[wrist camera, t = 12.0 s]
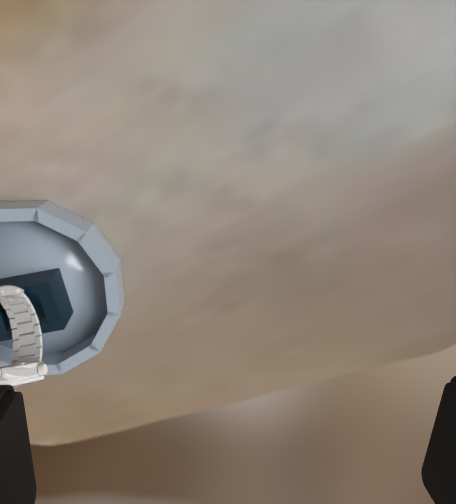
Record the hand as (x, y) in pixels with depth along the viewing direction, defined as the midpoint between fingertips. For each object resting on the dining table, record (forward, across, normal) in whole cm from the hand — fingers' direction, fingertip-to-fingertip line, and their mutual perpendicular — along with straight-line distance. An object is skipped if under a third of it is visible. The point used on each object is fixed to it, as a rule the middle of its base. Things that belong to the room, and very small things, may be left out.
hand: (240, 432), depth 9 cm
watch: (+28, +14, +10) cm, 33 cm away
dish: (+28, +14, +10) cm, 33 cm away
